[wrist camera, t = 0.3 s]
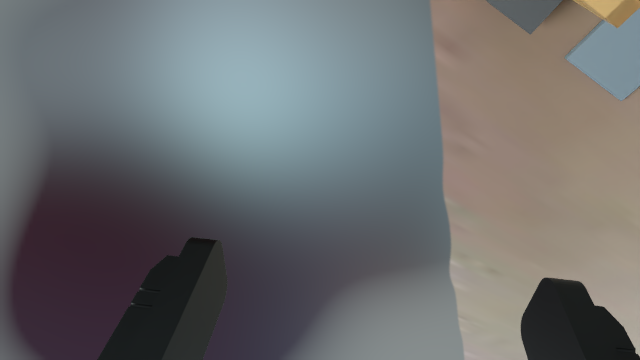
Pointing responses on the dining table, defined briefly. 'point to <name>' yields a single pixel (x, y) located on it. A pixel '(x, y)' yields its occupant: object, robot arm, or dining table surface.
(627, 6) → the yellow bent bar
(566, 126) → the dining table surface
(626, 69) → the light blue panel
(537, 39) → the dining table surface
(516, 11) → the dark gray rectangular block
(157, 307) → the robot arm
